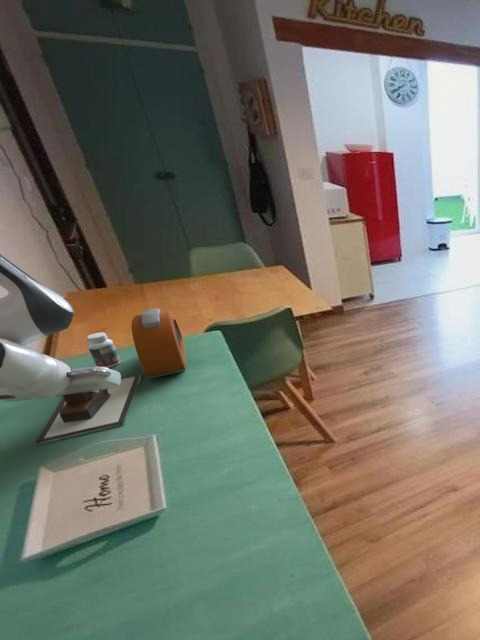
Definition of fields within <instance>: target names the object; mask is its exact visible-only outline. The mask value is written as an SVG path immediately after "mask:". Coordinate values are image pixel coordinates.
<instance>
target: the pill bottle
mask: <svg viewBox="0 0 480 640" xmlns="http://www.w3.org/2000/svg"><path fill="white" fill-rule="evenodd" d="M86 339H87V341H88V342H89V343H88V344H87V349H88V350H89V353H90V355H91V358H92V359H93V362H94V364H95V367H105V368H108V369H111V368H114V367H116V366H118V365H120V364H121V362H122V361H121V357H120V355H119V353H118V351H117V349H116V346H115V344H114V341H113V340H112V339H109V338H108V335H107V333H106V332H95V333H91V334H88V335H87V336H86Z"/></svg>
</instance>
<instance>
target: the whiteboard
mask: <svg viewBox="0 0 480 640" xmlns="http://www.w3.org/2000/svg"><path fill="white" fill-rule="evenodd" d="M142 376H143V375H142V374H141V373H138V374H133V375H127V376H121V384H120V386H119V387H116V388H110V389H107V391H108V393H109V395H110V397H109V398H108V400H107V401H106V402H105V403H104V404H103V406H102V407H101V408H100V409H99V410H98V412H97V413H96V414H95V415H94V416H93V417H92V418H91V419H85V420H78V421H72V422H65V423H64V422H63V420H62V418H61V416H60V412H59V410H60V409H61V408H62V407H63V406H64V405H65V404H66V401H65V399H64V397H62V399H61V401H60V402H59V404H58V405H57V407H55V409H54V412H53V413H52V415H51V417H50V418H49V420H48V421H47V423H46V425H45V426H44V428H43V430H42V431H41V433H40V434H39V435H38V437H37V439H36V441H35V442H34V444H35V445H36V446H39V445H42V444H47V443H51V442H56V441H60V440H65V439H68V438H74V437H76V436H81V435H86V434H91V433H94V432H99V431H104V430H109V429H111V428H115V427H120V426H124V425H125V424H126V420H127V419H128V416H129V413H130V409H131V408H132V404H133V401H134V398H135V396H136V392H137V389H138V387H139V385H140V382H141V379H142Z"/></svg>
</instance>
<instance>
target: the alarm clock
mask: <svg viewBox="0 0 480 640" xmlns="http://www.w3.org/2000/svg"><path fill="white" fill-rule="evenodd" d="M130 328H131V334H132V339H133V343H134V348H135V350H136V351H135V352H136V354H137V358H138V361H139V363H140V366H141V368H142V371H143V373H144V375H145V376H146V377H147V378H151V379H155V378H160V377H164V376H169V375H172V374H178V373H181V372H185V371H186V369H187V357H186V347H185V340H184V337H183V333H182V331H181V328H180V325H179V323H178V320H177V318H176V315H175V314H174V313H173V312H172V311H171V310H169V309H167V310H162V311H161V309H160V308H151V309H145V310H143V311H142V312H141V314H137V315H134V316H133V317H132V320H131V327H130Z"/></svg>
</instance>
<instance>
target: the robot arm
mask: <svg viewBox="0 0 480 640" xmlns="http://www.w3.org/2000/svg"><path fill="white" fill-rule="evenodd" d="M0 286H1V287H2V288H4V289H5V290H6V291H7V292H8V293H7V294H6V296H4V297H1V298H0V401H2V402H8V403H9V402H10V403H11V402H12V403H13V402H14V403H15V402H23V401H29V400H36V399H37V400H42V399H48V398H49V399H50V398H53V397H60V398H63V395H66V394H73V393H81V392H88V393H91V394H92V393H99V390H102V389H110V388H116V387H119V386H120V384H121V378H122V374H121V372H119V371H117V370H114V369H111V368H105V367H97V366H88V367H78V368H72V369H71V367H70V366H69V365H68V364H67V363H65V362H63V361H61V360H60V359H57V358H54V357H52V356H50V355H47V354H45V353H40V352H38V351H36V350H35V349H33V348H31V347H29V346H27V345H28V344H31V343H33V342H35V341H37V340H38V341H39V340H40V339H43V338H44V337H46V336H47V337H49V336H52V335H54V334H56V333H58V332H61V331H64V330H67V329H68V328H69V327H70V326H71V324H72V322H73V319H74V316H75V310H74V308H73V307H72V305H71V304H70V303H69V302H68V300H66V299H65V298H64V297H63V296H62V295H60V294H59V293H57V292H55V291H53V290H52V289H50V288H48V287H47V286H45V285H44V284H42V283H41V282H39V281H38V280H36V279H35V278H34V277H32V276H31V275H29V274H28V273H27V272H26V271H24V270H22V269H21V268H19V267H18V266H17V265H16V264H15V263H13V262H12V261H10V260H9V259H8V258H6V257H5V256H4V255H2V254H0Z"/></svg>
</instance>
